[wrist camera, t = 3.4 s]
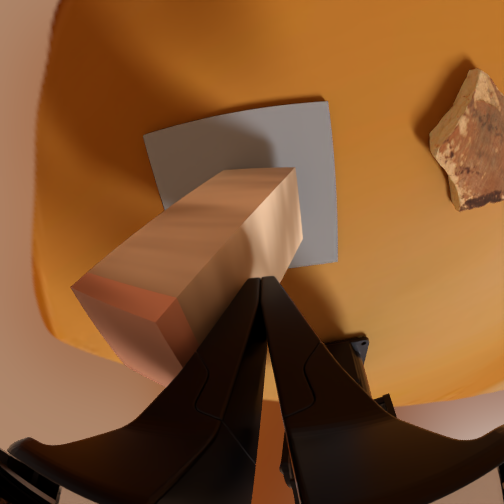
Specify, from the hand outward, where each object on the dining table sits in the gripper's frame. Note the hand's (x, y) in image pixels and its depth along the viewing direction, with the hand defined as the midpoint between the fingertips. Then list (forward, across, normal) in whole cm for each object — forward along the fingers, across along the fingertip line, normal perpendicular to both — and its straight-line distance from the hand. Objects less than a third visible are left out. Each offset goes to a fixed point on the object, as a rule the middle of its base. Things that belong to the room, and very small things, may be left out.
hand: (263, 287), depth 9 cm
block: (+7, 0, 0) cm, 7 cm away
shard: (+9, -17, -4) cm, 20 cm away
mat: (+8, +1, 0) cm, 8 cm away
